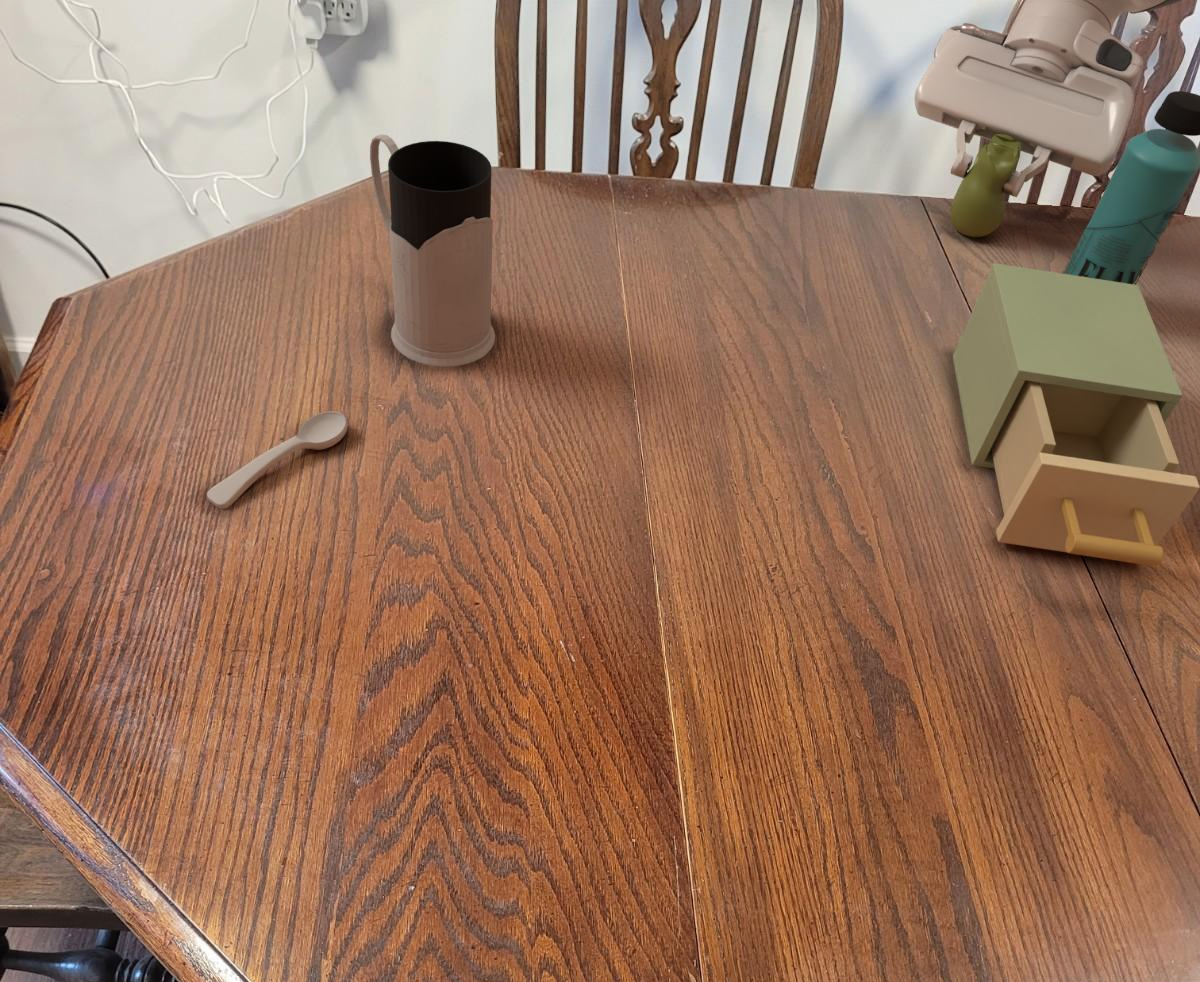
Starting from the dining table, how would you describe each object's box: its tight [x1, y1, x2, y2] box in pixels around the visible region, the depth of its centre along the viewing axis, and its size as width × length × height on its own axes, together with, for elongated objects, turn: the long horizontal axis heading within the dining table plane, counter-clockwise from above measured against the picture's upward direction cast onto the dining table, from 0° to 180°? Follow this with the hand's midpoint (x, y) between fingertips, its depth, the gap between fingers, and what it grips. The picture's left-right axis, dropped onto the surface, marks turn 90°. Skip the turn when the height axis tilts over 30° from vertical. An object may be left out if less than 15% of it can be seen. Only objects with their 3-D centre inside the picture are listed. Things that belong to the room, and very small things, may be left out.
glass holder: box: [369, 134, 496, 368], centre depth 83 cm, size 9×14×15 cm, turn 39°
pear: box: [949, 134, 1022, 238], centre depth 104 cm, size 6×5×10 cm
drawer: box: [991, 380, 1200, 567], centre depth 77 cm, size 18×11×8 cm, turn 173°
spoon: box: [206, 410, 349, 510], centre depth 75 cm, size 3×12×2 cm, turn 141°
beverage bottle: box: [1061, 90, 1200, 285], centre depth 93 cm, size 6×7×20 cm
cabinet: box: [952, 262, 1183, 470], centre depth 85 cm, size 15×12×10 cm
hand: (983, 183), depth 103 cm, fingers closed on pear, 4 cm apart
